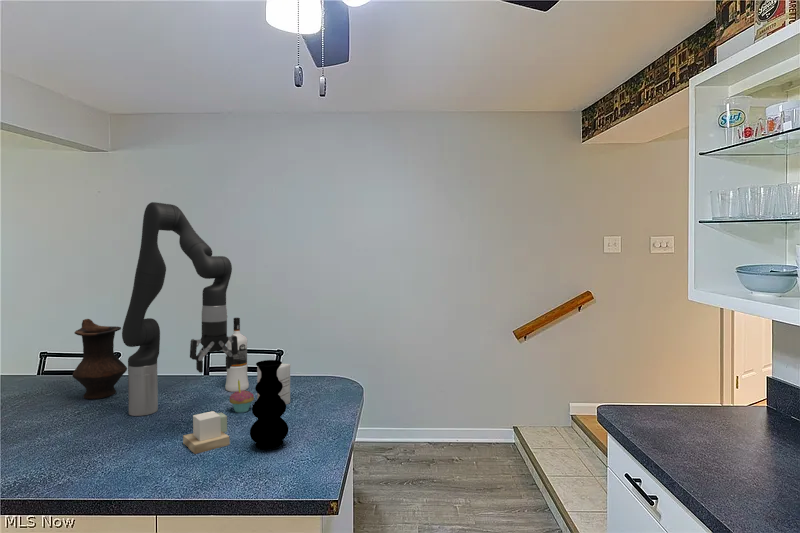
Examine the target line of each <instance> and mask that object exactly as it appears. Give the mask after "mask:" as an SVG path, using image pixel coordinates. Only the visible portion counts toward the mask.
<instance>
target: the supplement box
mask: <svg viewBox="0 0 800 533" xmlns="http://www.w3.org/2000/svg"><path fill="white" fill-rule="evenodd" d="M256 367H257V366H256ZM256 372H257V374H256V377H257V379H256V384H257V383H258V382H259V381H260V378H261V370H260V369H259V368H258V367H257V368H256ZM277 377H278V380H279V381H280V382H281V383H282V385H283V388H282V390H281V392H280V393H279V394H278V395H279V396H280V398H281V399H282V400H284V402H285V403H286V405H288V404H291V364H290V363H283V362H282V364H281V365H280V367H279V368H278V370H277ZM256 393H257V392H256ZM256 396H257V397H256V398H257V399H256V401H257V400H258V397H260V395H259V394H258V393H257V395H256Z"/></svg>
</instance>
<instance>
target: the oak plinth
mask: <svg viewBox="0 0 800 533" xmlns="http://www.w3.org/2000/svg"><path fill="white" fill-rule="evenodd" d="M230 437H231V436H230V435H228V434H227V433H226V432H222V431H221V436H219V437H215V438H211V439H207V440H203V441H199V440H198V439H197V438H196V437H195V436H194V435H193V433H189V434H183V435H182V442H183V443H182V444H183V445H184V444H185V445H186V446H187V447H188V448H187V447H186V446H185V445H184V446H185V447H186V448H187V449H188V450H190V451H191V452H192V453H193V454H195V455H198V454H201V453H205V452H208V451H209V452H210V451H213V450H216V448H217V449H219V448H223V447H227V446H230V445H231V444H230V442H231V441H230ZM212 449H213V450H212Z"/></svg>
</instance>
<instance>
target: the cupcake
mask: <svg viewBox="0 0 800 533" xmlns="http://www.w3.org/2000/svg"><path fill="white" fill-rule="evenodd" d="M238 389H239V391H237V392H232V393H231V394H230V395H229V400H228V402H230V404H232V407H233V410H234V412H235V413H246V412H249V410H250V406H251V405H252V403H253V402H254V400H255V397H254V394H253V393H252V392H251V391H248V390H240V381H239V379H238Z"/></svg>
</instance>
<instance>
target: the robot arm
mask: <svg viewBox="0 0 800 533" xmlns="http://www.w3.org/2000/svg"><path fill="white" fill-rule="evenodd" d="M143 212H144V213H143V220H142V227H141V228H142V229H141V230H142V231H141V239H140V240H141V242H140V247H139V248H140V249H139V255H138V260H137V265H136V269H135V275H134V279H133V280H134V281H133V287H132V291H131V297H130V301H129V305H128V308H127V312H126V315H125V318H124V322H123V324H122V325H123V326H122V328H121V330H122V331H121V338H122V343H123V344H124V345H125V346H126V347H129V348H136V347H138V349H137V350H136V351H135V352H134V353H133V354H131V355H130V356H129V357H128V359H127V374H128V375H127V376H128V377H127V382H128V383H127V386H128V387H127V388H128V389H127V390H128V391H127V392H128V399H127V400H128V415H129V416H133V417H134V416H135V417H141V416H147V415H151V414H155V413H157V412H158V410H159V409H158V408H159V406H158V405H159V404H158V402H159V399H158V397H159V395H158V386H159V385H158V383H159V382H158V357H159V356H160V347H161V346H160V343H161V330H160V325H159V322H158V321H157V320H156V319H155V318H151V317H150V318H145V317H146V313H147V310H148V308H149V307H150V305H151V304H152V303H153V301H155V299H156V298H157V297H158V295H159V294H160V292H161V291H162V289H163V287H164V284H165V278H166V272H167V266H166V263H165V259H164V257H163V255H162V253H161V250H160V249H159V244H158V243H159V242H158V240H159V238H158V237H159V232H160V231H167V232H168V231H169V232H171V231H172V232H174V233H175V234H176V235H178V236H179V246H180V249H181V250H182V252H183V253H184V254H185V255H186V256H187V258H188V259H189V260H191V262H192V265H193V267H194V269H195V271H196V273H197V275H198V276H199V277H200V278H202V279H206V280H211V279H212V280H213V279H214V280H213V282H212V284H210V285H209V286H205V287H204V288H203V289H202V302H201V303H202V307H201V338H200V339H195V338H192V339H191V340H190V345H189V346H190V348H189V358H190V359H192V360H193V361H194V360H195V361H196V363H195V364H196V366H195V367H196V371H197V372H198V373H200V374H201V373H203V372H204V370H203V369H204V367H203V366H204V363H203V362H204V361H203V359H204V357H205V356H206V355H208V352H209V353H213V352H221V351H222V352H223V353H224V354H225V355H226V356H225V368H226V370H227V369H229V368H230V367H231V366H232V356H233V355H235V354H238V343H237V336H234V335H232V334H231V335H232V336H231V335H230V336H228V309H227V292H228V291H227V290H228V288H229V283H230V281H231V277H232V276H231V275H232V274H233V272H232V271H233V266H232V262H231V260H230V259H229V258H228V257H226V256H223V255H213V250H212V248H211V247H210V246H209V244H208V243H207V242H206V241H204V240H203V238H201V237H200V235H199V234H198V233H197V232H196V231H195V229H194V227H193V226H192V225H191V223H190V222H189V220H188V218H187V217H186V216H185V214H184V213H183V211H182V209H181V208H179V207H178V206H177V205H174V204H170V203H163V202H162V203H161V202H157V201H156V202H155V201H154V202H153V201H152V202H150V203H147V205H146V206H145V209H144V211H143ZM228 340H229V341H230V342H231V348H232V351H229V349H228V348H227V345H226V343H227V342H228ZM200 345H201V346H202V347H201V348H200V350H199V352H198V353H197V348H198V347H199V346H200Z"/></svg>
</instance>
